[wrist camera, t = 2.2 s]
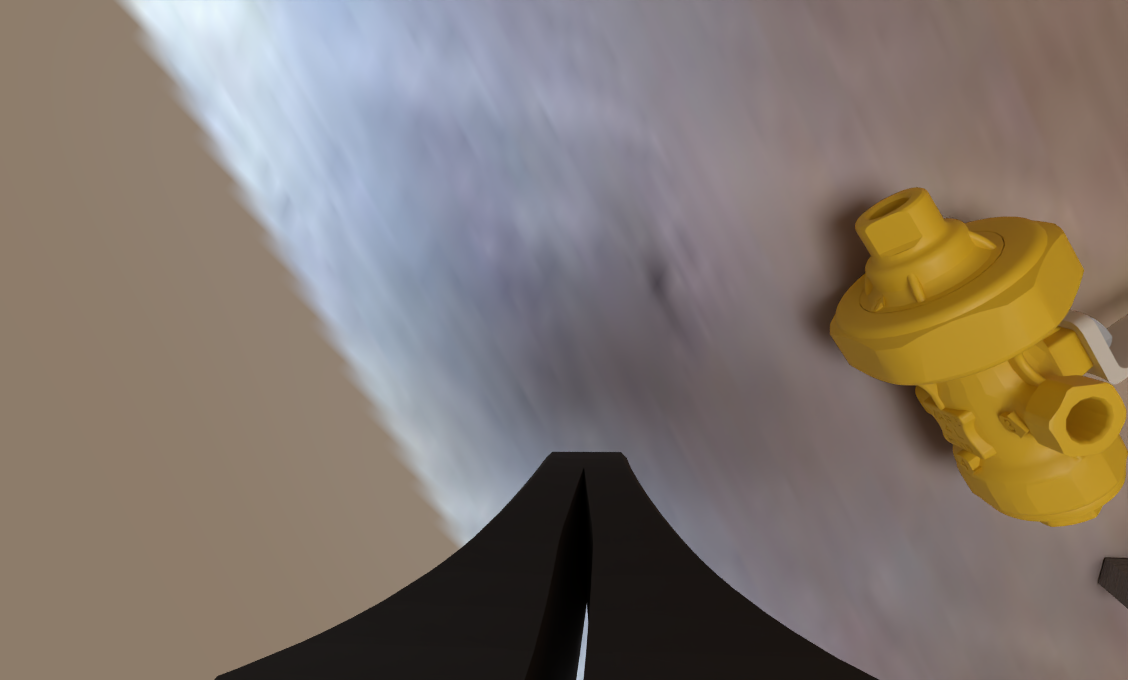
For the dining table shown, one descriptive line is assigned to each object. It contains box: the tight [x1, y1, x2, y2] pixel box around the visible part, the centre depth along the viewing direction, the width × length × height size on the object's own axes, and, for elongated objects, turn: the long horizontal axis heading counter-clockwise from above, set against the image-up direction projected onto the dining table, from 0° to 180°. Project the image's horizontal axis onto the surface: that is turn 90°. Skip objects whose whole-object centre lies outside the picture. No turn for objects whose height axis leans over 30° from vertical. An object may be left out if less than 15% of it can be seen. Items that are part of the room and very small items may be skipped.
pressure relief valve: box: [830, 187, 1128, 527], centre depth 16 cm, size 6×12×10 cm
